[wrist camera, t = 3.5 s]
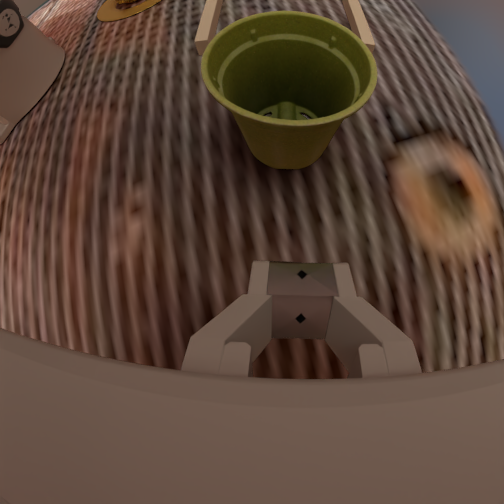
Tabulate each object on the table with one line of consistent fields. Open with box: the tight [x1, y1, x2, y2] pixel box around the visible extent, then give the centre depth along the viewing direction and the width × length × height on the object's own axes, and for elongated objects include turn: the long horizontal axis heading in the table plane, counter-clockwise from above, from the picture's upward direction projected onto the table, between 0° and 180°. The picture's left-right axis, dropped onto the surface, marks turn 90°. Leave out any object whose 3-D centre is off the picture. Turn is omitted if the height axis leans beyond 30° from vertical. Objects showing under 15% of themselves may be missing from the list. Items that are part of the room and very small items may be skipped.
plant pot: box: [201, 11, 377, 169], centre depth 17 cm, size 9×9×9 cm
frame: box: [194, 0, 375, 56], centre depth 24 cm, size 16×15×2 cm
